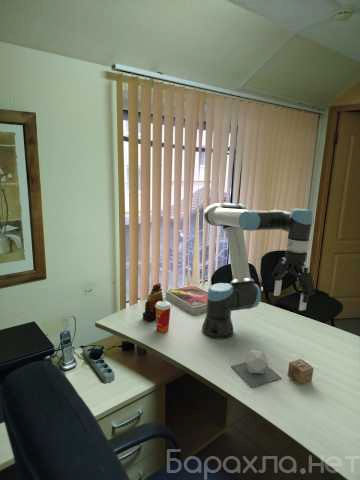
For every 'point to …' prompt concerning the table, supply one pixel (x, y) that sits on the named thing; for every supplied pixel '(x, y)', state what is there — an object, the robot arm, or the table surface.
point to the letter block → (300, 372)
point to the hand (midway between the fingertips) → (288, 302)
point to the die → (256, 362)
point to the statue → (152, 303)
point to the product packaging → (189, 298)
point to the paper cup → (162, 316)
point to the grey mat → (255, 375)
